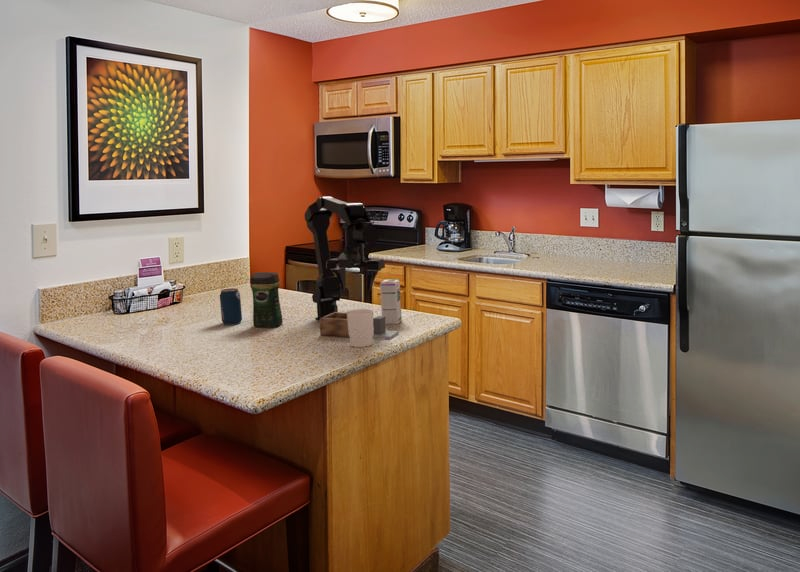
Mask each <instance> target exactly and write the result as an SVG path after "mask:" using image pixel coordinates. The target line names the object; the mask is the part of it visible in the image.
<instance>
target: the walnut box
mask: <svg viewBox="0 0 800 572" xmlns="http://www.w3.org/2000/svg"><path fill="white" fill-rule="evenodd" d="M319 331H320V336H321V337H333V336H335V338H347V337H349V331H348V322H347V311H346V312H343V311H342V312H341V311H338V312H333V313H331V314H328V315H326V316H324V317H322V318H320V320H319Z"/></svg>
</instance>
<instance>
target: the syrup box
mask: <svg viewBox="0 0 800 572" xmlns="http://www.w3.org/2000/svg"><path fill="white" fill-rule="evenodd" d="M379 285H380V288H379V289H380V304H381V305H380V308H381V316H385V325H398V324H399V323H400V322H401V321H402V301H401V284H400V279H396V278H395V279H393V278H391V279H383V280H382V281H381V282H380V283H379Z"/></svg>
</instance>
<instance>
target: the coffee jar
mask: <svg viewBox="0 0 800 572" xmlns="http://www.w3.org/2000/svg"><path fill="white" fill-rule="evenodd" d="M280 283H281V282H280V278H279V274H278V272H271V271H264V272H263V271H262V272H261V271H260V272H255V273H252V274H251V275H250V279H249V287H250V289H251V291H252V303H253V304H252V309H253V310H252V311H253V312H252V323H253V324H252V325H253V326H254V327H256V328H274V327H279V326H281V325H282V324H283V315H282V309H281V302H280V295H279V287H280Z"/></svg>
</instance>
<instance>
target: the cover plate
mask: <svg viewBox="0 0 800 572" xmlns="http://www.w3.org/2000/svg"><path fill="white" fill-rule="evenodd" d="M398 333H400V332H399V330H387V329H386V324H385V316H382V315H377V316H375V317H373V339H377V338H385V339H384V340H392V339H393V338H395V337H396V336H398V335H399V334H398ZM397 334H398V335H397ZM395 335H396V336H395ZM394 336H395V337H394ZM392 337H393V338H392ZM391 338H392V339H391Z"/></svg>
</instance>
